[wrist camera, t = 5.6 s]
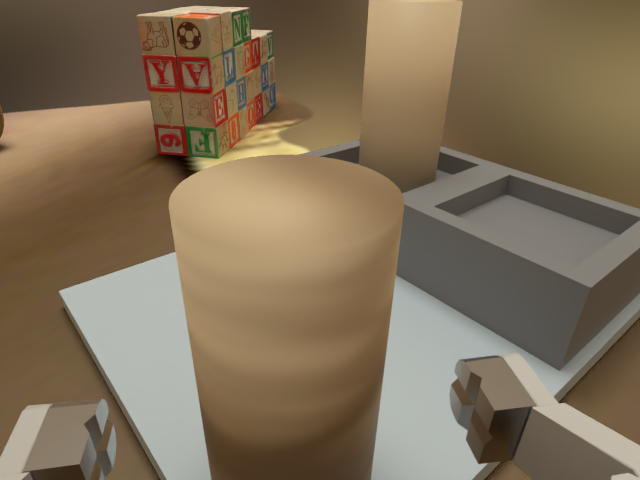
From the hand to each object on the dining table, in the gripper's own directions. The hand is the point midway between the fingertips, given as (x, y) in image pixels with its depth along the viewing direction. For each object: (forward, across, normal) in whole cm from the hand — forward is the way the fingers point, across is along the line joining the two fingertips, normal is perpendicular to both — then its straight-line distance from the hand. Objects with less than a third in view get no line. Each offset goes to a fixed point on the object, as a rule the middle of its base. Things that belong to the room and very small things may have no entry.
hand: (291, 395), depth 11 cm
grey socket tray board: (+11, -5, +6) cm, 14 cm away
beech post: (+1, 0, +5) cm, 6 cm away
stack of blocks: (+46, +2, +7) cm, 46 cm away
